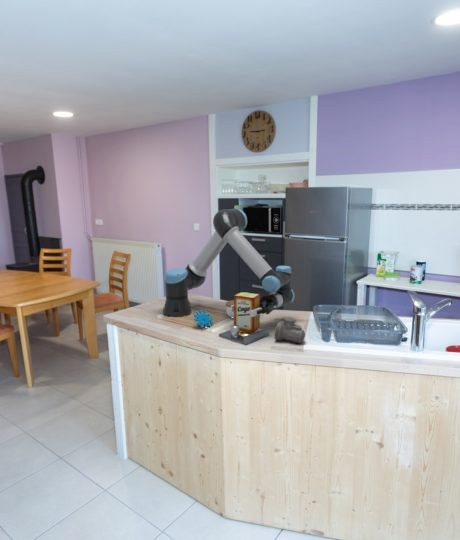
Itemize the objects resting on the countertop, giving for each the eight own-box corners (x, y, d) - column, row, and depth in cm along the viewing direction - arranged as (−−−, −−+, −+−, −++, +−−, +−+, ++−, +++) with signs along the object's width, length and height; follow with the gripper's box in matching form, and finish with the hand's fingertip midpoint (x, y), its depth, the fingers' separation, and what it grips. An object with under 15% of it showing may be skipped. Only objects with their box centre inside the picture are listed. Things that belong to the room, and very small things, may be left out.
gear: (198, 327, 179) (192, 309, 184) (192, 334, 183) (187, 315, 188) (218, 326, 186) (211, 308, 191) (212, 332, 189) (206, 314, 194)
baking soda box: (259, 328, 174) (259, 293, 172) (253, 332, 169) (253, 297, 166) (240, 325, 179) (240, 291, 176) (234, 329, 173) (234, 294, 170)
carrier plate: (218, 336, 172) (218, 323, 171) (242, 327, 184) (242, 315, 183) (246, 345, 162) (246, 331, 161) (269, 335, 173) (269, 322, 172)
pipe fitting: (272, 341, 165) (275, 318, 163) (278, 336, 172) (282, 314, 170) (299, 348, 160) (303, 325, 158) (304, 344, 167) (308, 321, 165)
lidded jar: (221, 317, 200) (221, 299, 199) (237, 313, 207) (236, 296, 206) (235, 321, 192) (235, 303, 191) (250, 317, 199) (250, 299, 198)
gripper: (291, 313, 178) (261, 325, 162) (252, 304, 194) (222, 314, 178) (291, 297, 177) (262, 307, 161) (252, 290, 192) (221, 298, 176)
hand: (241, 311), depth 169 cm, fingers closed on baking soda box, 11 cm apart
